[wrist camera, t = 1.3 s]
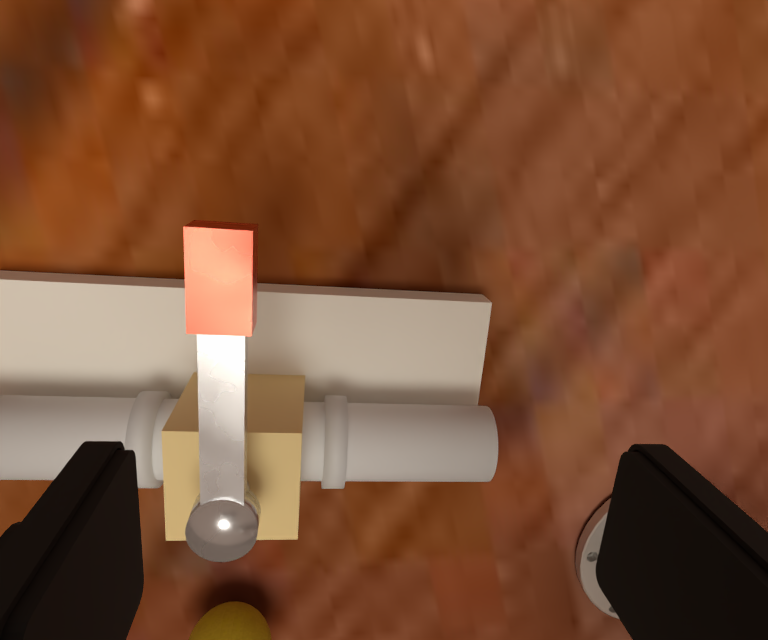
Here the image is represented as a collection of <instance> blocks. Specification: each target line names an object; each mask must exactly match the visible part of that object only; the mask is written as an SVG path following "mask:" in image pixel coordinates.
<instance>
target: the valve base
mask: <svg viewBox="0 0 768 640" xmlns="http://www.w3.org/2000/svg"><path fill="white" fill-rule="evenodd" d="M491 307H492V302H491V301H489V300H488V299H487V298H486V297H485V296H484V295H483V294H467V293H447V292H427V291H407V290H387V289H367V288H346V287H326V286H306V285H286V284H266V283H257V323H256V326H255V329H254V331H253V334H252V336H248V401H247V488H248V489H249V490H251V491H252V492H253V493H254V494H255V495H256V497H257V499H258V500H259V503H260V507H261V514H260V521H259V527H258V534H257V539H256V540H282V539H298V523H299V504H300V485H301V481H321V486H322V489H344V486H345V481H418V482H489V481H491V480H492V478H493V476H494V474H495V471H496V466H497V460H498V434H497V427H496V422H495V418H494V415H493V413H492V411H491V409H490V408H489V407H488V406H478V399H479V392H480V385H481V378H482V371H483V364H484V356H485V349H486V342H487V335H488V328H489V321H490V314H491ZM85 441H121V442H122V443H123V445H124V448H125V450H133V451H134V452H135V456H136V468H137V483H138V488H159V487H160V486H161V485H162V484H163V482H164V505H165V529H166V541H174V540H186V536H185V529H186V525H187V522H188V519H189V516H190V513H191V510H192V507H193V504H194V502H195V499H196V498H197V496H198V495H199V494H200V469H199V419H198V369H197V334H186V306H185V279H165V278H145V277H125V276H105V275H84V274H64V273H44V272H24V271H4V270H0V480H54V479H55V478H56V477H57V475H58V474H59V473H60V472H61V470H62V469H63V468H64V466H65V465H66V464H67V462H68V461H69V460H70V459H71V457H72V456H73V455H74V453H75V452H76V451H77V450H78V448H79V447H80V446H81V444H82V443H84V442H85Z"/></svg>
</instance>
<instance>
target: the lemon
mask: <svg viewBox="0 0 768 640" xmlns="http://www.w3.org/2000/svg"><path fill="white" fill-rule="evenodd" d="M189 640H271V633H270V629H269V627H268V625H267V622H266V620H265V618H264V617H263V615H262V614H261V613H260V612H259V611H258V610H257V609H256V608H254V607H253V606H251V605H249V604H247V603H244V602H238V601H234V602H226V603H222V604H220V605H218V606H216V607H214V608H212V609H211V610H210V611H208V612H207V613H206V614H205V615H203V617H202V618H201V619H200V620H199V622H198V623H197V624H196V626H195V627H194V629H193V631H192V633H191V635H190V637H189Z"/></svg>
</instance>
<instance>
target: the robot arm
mask: <svg viewBox="0 0 768 640" xmlns="http://www.w3.org/2000/svg"><path fill="white" fill-rule="evenodd" d="M575 566H576V571H577V577H578V579H579V582H580V584H581V586H582V588H583V590H584V591H585V593H586V594H587V596H588V597H589V599H590V601H591V602H592V603H593V604H594V605H595V606H596V607H597V608H598V609H599V610H601V611H602V612H604V613H606V614H607V615H609V616H612V617H614V618H617V619H620V620H621V622H622V623H623V625H624V626H625V628H626V630H627V631H628V633H629V634H630V636H631V637H632V639H633V640H768V532H767V531H766V530H764V529H763V528H762V527H761V526H760V525H759V524H757V523H756V522H755V521H754V520H753V519H752V518H751V517H749V516H748V515H747V514H746V513H745V512H744V511H742V510H741V509H740V508H739V507H738V506H737V505H735V504H734V503H733V502H732V501H731V500H730V499H729V498H727V497H726V496H725V495H724V494H723V493H722V492H720V491H719V490H718V489H717V488H716V487H715V486H713V485H712V484H711V483H710V482H709V481H708V480H706V479H705V478H704V477H703V476H702V475H701V474H700V473H698V472H697V471H696V470H695V469H694V468H693V467H691V466H690V465H689V464H688V463H687V462H686V461H684V460H683V459H682V458H681V457H680V456H679V455H677V454H676V453H675V452H674V451H673V450H672V449H671V448H669V447H668V446H666V445H663V444H634V445H632V446H631V447H630V448H629V450H628V452H624V453H623V454H622V455H621V458H620V461H619V466H618V470H617V474H616V479H615V483H614V488H613V492H612V497H611V498H610V499H609V500H607V501H606V502H605V503H604V504H603V505H602V506H601V507H600V508H599V509H598V510H597V511H596V512H595V513H594V515H593V516H592V518H591V519H590V520H589V522H588V523H587V525H586V526H585V528H584V530H583V532H582V535H581V537H580V539H579V543H578V546H577V550H576V562H575ZM143 584H144V574H143V559H142V544H141V529H140V514H139V498H138V483H137V468H136V456H135V452H134V451H133V450H125V448H124V445H123V443H122V442H121V441H85V442H84V443H82V444H81V446H80V447H79V448H78V450H77V451H76V452H75V453H74V455H73V456H72V457H71V459H70V460H69V461H68V462H67V464H66V465H65V466H64V468H63V469H62V470H61V472H60V473H59V474H58V475H57V477H56V478H55V479H54V481H53V482H52V483H51V485H50V486H49V487H48V488H47V490H46V491H45V492H44V494H43V495H42V496H41V497H40V499H39V500H38V501H37V503H36V504H35V505H34V507H33V508H32V509H31V510H30V512H29V513H28V514H27V516H26V517H25V518H24V520H23V521H22V522H17V523H15V524H12V525H11V526H10V527H9V528H8V529H7V530H6V531H5V532H4V533H3V535H2V536H1V537H0V640H126V638H127V635H128V632H129V630H130V627H131V625H132V622H133V619H134V617H135V614H136V611H137V609H138V606H139V604H140V600H141V597H142V592H143Z"/></svg>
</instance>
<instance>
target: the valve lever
mask: <svg viewBox="0 0 768 640" xmlns="http://www.w3.org/2000/svg"><path fill="white" fill-rule="evenodd" d="M183 229H184V267H185V306H186V334H197V369H198V419H199V469H200V494H199V495H198V496H197V498H196V499H195V502H194V504H193V507H192V510H191V513H190V516H189V519H188V522H187V525H186V529H185V536H186V541H187V543H188V545H189V546H190V548H191V549H192V550H193V551H194V552H195V553H196V554H197V555H199V556H200V557H202V558H204V559H207V560H210V561H215V562H228V561H232V560H236V559H238V558H240V557H242V556H244V555H245V554H247V553H248V552H249V551H250V550H251V548H252V547H253V546H254V544H255V542H256V539H257V534H258V527H259V521H260V514H261V507H260V503H259V500H258V499H257V497H256V495H255V494H254V493H253V492H252V491H251V490H249V489H248V488H247V401H248V336H252V334H253V331H254V329H255V326H256V323H257V265H258V224H248V223H232V222H216V221H201V220H194V221H192V222H190V223H189V224H187V225H185V226H184V227H183Z"/></svg>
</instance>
